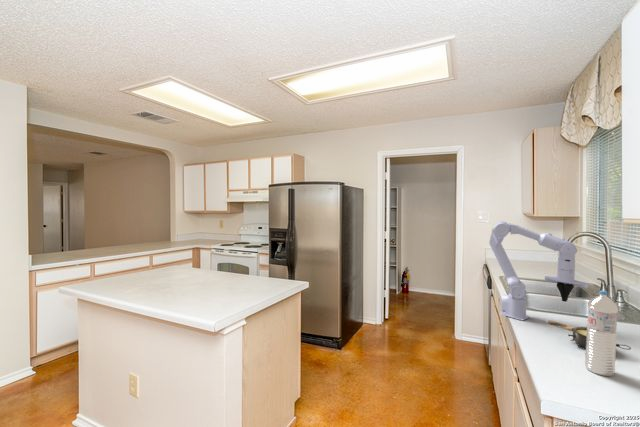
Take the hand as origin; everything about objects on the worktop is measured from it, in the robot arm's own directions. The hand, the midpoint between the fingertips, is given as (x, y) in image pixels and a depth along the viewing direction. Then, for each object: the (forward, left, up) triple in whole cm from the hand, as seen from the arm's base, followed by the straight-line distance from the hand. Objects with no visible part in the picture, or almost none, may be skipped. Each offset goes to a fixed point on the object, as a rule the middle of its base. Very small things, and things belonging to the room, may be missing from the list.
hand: (564, 300), depth 132 cm
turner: (+3, -3, -10) cm, 11 cm away
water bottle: (+18, -37, -11) cm, 42 cm away
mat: (+14, -15, -10) cm, 23 cm away
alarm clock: (+6, -19, -8) cm, 21 cm away
